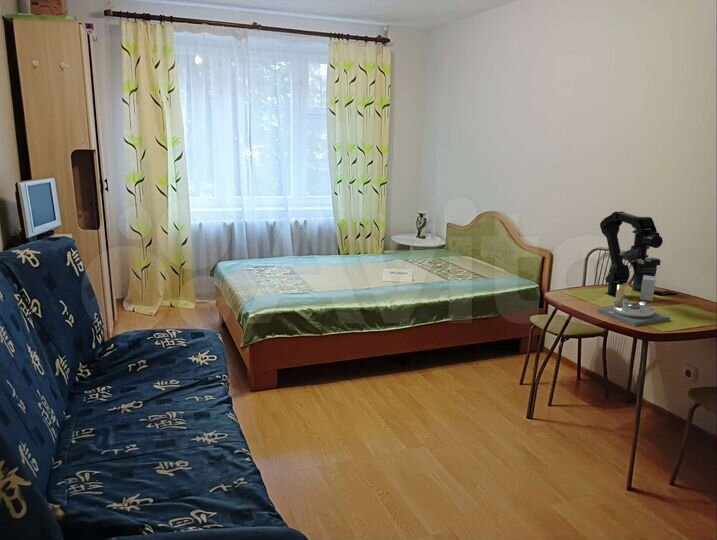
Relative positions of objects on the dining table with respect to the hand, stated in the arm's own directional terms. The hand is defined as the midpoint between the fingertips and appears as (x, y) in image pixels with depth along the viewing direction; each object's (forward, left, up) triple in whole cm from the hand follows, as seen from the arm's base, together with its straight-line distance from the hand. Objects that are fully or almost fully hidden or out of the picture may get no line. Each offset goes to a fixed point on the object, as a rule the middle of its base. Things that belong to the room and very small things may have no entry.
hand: (636, 276), depth 247 cm
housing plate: (+15, -16, -13) cm, 26 cm away
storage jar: (-15, +23, -13) cm, 31 cm away
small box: (-4, +13, -13) cm, 19 cm away
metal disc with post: (+15, -16, -11) cm, 25 cm away
